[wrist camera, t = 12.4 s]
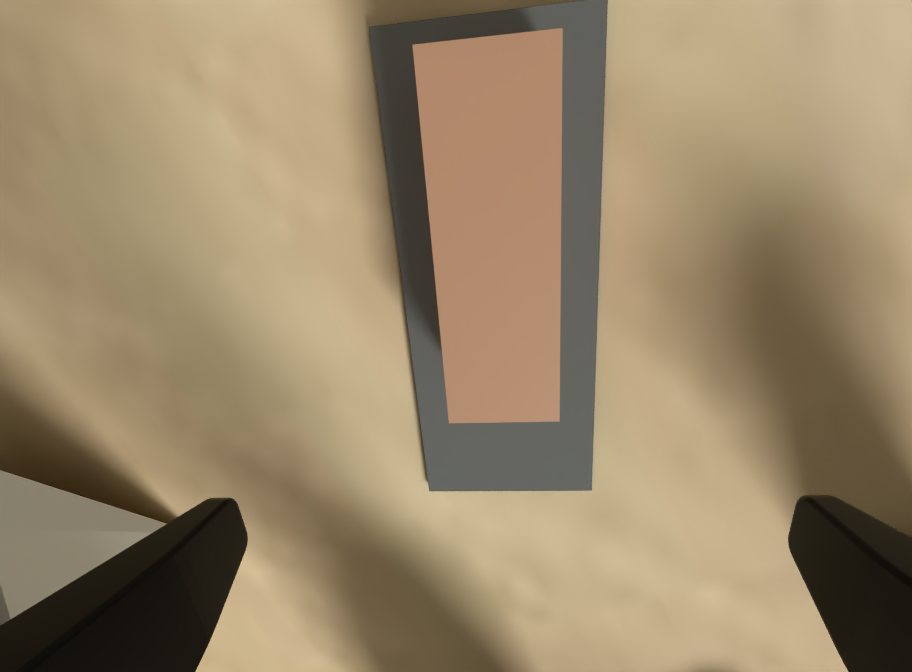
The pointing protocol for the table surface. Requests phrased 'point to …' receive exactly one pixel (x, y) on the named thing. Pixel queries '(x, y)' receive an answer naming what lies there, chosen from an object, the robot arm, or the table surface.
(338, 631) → the table surface
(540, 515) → the table surface
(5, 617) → the folded paper
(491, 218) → the terracotta block
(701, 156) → the table surface
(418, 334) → the charcoal mat
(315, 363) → the table surface
